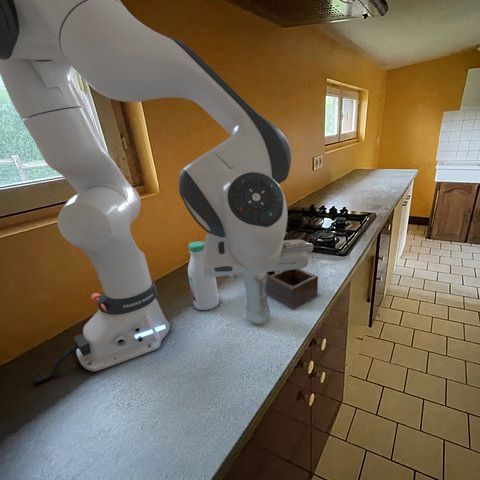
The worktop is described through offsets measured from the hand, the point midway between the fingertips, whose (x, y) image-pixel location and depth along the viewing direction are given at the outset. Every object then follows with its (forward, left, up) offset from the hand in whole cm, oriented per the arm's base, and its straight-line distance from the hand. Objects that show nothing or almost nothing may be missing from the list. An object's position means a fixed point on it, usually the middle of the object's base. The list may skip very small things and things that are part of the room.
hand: (256, 272), depth 65 cm
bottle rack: (+23, +16, -21) cm, 35 cm away
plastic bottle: (+7, +9, -21) cm, 24 cm away
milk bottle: (+1, +27, -21) cm, 35 cm away
